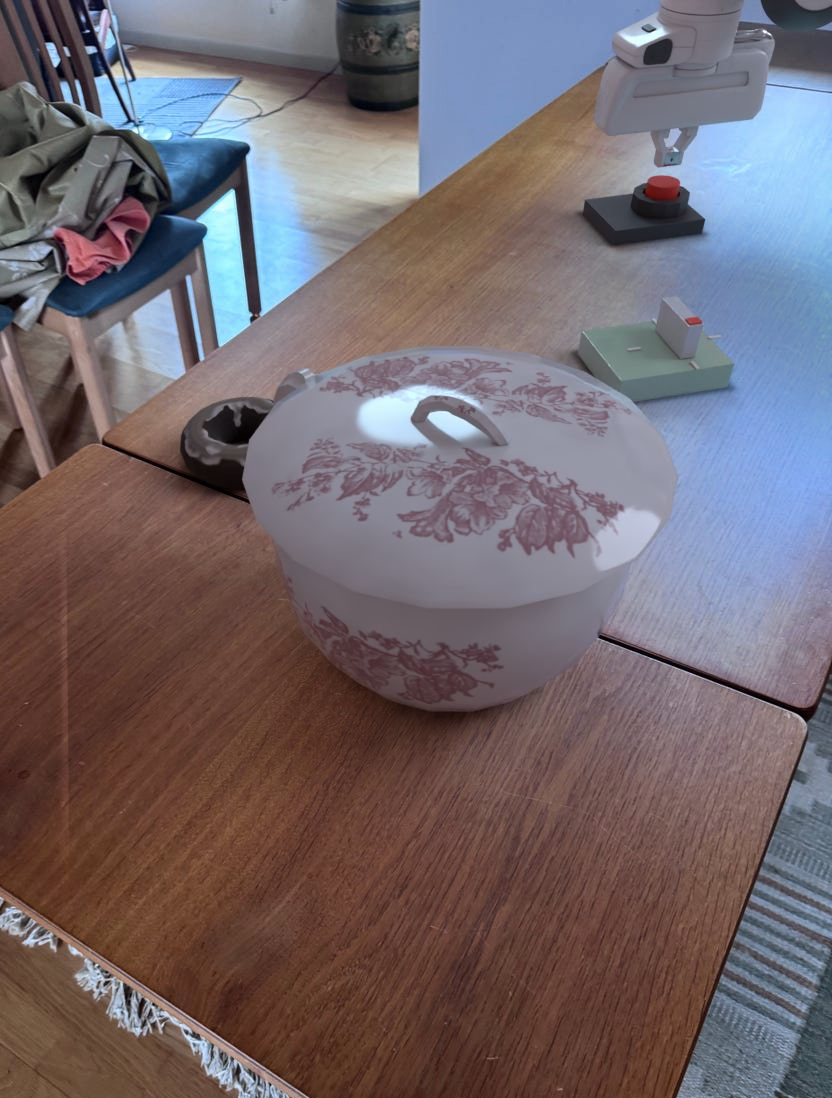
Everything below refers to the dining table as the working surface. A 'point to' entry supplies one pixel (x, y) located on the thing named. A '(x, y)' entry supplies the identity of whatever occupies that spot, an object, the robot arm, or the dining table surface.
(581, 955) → the dining table surface
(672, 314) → the grey rectangular block
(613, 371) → the tap panel
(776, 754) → the dining table surface
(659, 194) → the red button
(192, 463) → the donut
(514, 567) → the chamber pot
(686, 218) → the button block
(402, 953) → the dining table surface
